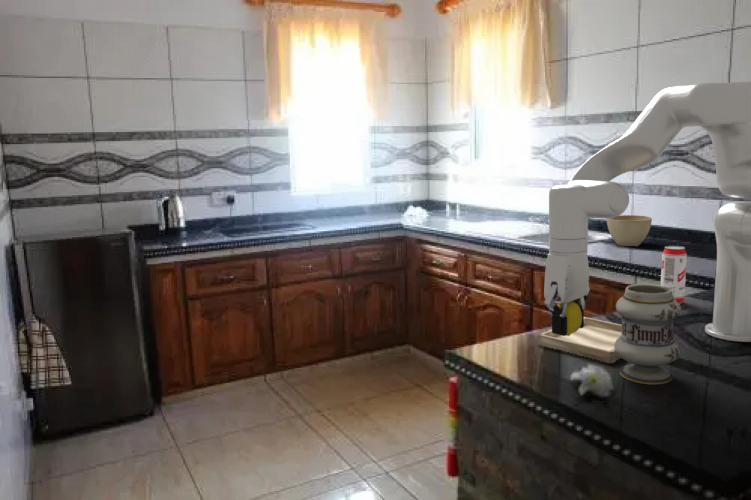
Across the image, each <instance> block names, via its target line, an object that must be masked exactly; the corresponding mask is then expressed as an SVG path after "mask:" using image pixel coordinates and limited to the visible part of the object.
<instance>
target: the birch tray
mask: <svg viewBox="0 0 751 500" xmlns="http://www.w3.org/2000/svg"><path fill="white" fill-rule="evenodd" d="M621 333H622V323H621V324H620V323H616V322H615V323H614V322H611V321H605V320H600V319H596V318H591V317H587V316H584V327H583V328H579V329H578V330H577V331H576V332H574V333H572V334H571V335H570V336H562V335H558V334H554V333H552V328H551V329H549V330H547V331H544V332H542V333H539V334H538V335H537V346H541V347H544V348H549V349H552V348H553V350H556V349H559V350H563V351H568V352H571V353H574V354H573V355H575V354H577V355H576V356H579V355H580V356H579V357H582V356H585V357H584V358H586V357H589V358H588V359H590V358H592V359H591V360H594V359H597V360H596V361H598V360H600V361H599V362H602V361H603V363H605V362H606V363H605V364H609V363H610V364H613V363H616V362H617V361H619V360H621V359H622V358H621V357H620V356H619V355H618V354H617V352H616V351H615V347H614V345H615V342H616V340H617V339H618V338H619V337H620V336H621ZM559 350H558V351H559ZM563 351H562V352H563ZM571 353H570V354H571ZM620 358H621V359H620ZM618 359H619V360H618ZM616 360H617V361H616Z"/></svg>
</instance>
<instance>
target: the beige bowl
mask: <svg viewBox="0 0 751 500" xmlns="http://www.w3.org/2000/svg"><path fill="white" fill-rule="evenodd" d="M652 222H653V218H652V217H651V216H646V215H639V214H638V215H636V214H635V215H634V214H630V215H629V214H627V215H622V214H621V215H619V216H617V217H615V218H610V219H606V224H607V229H608V231H609V234H610V236H611V238H612V239H613V241H614V243H616V244H617V245H618V246H619V245H620V246H619V247H624V246H635V247H639V246H640V245H641V244H642V242H643V241H644V240H645V239H646V238H647V236H648V234H649V232H650V229H651V227H652Z"/></svg>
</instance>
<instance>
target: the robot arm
mask: <svg viewBox="0 0 751 500" xmlns="http://www.w3.org/2000/svg"><path fill="white" fill-rule="evenodd" d="M687 127H688V128H689V127H692V128H693V127H701V128H702V129H703V130H705V132H706V133H707V134H708V136H709V137H710V139H711V142H712V148H713V155H714V164H715V173H716V181H717V182H716V183H717V186H718V189H719V191H720V193H721V194H722V195H724V196H727V197H730V198H734V199H735V198H737V199H745V200H746V199H747V200H751V81H734V82H733V81H731V82H729V81H728V82H699V83H693V84H684V85H683V84H682V85H674V86H670V87H665V88H663V89H661V90H660V91H658V93H657V94H655V96H654V97H653V98H652V99H651V100H650V102H649V103H648V104H647V105H646V107H645V108H644V109H643V111H642V112H641V113H640V114H639V116H637V118H636V119H635V121H634V122H632V124H631V125H630V127H629V128H628V129H627V130H626V131H625V133H624V134H623V135H622V136H621V137H620V138H617V139H616V140H614V141H612V142H611V143H609V144H608V145H606V146H605V147H603V148H602V149H601V150H599V151H598V152H596V153H595V154H594V155H592V156H590V157H589V158H588V159H587V160H585V162H584V163H583V164H582V165H581V166H580V167H578V169H577V170H576V172H575V173H574V175H573V176H572V177H571V178H570V179H569V181H568V182H567V184H556V185H554V186H553V185H552V187H551V188H550V190H549V191H548V254H547V258H546V263H545V264H546V265H545V271H544V272H545V273H544V287H543V288H544V291H543V295H544V297H543V298H544V299H545V300H544V305H545V306H546V307H547V309H548V311H549V314H550V315H551V329H552V333H554V334H558V335H562V336H566V335H567V317H565V313H566V307H567V303H568V302H571V301H573V302H575V303H576V304H577V305H578V306H579V307H580V310H581V314H582V323H581V326H580V328H583V327H584V317H585V315H584V314H585V309H586V301H587V299H588V295H589V293H590V290H591V287H590V285H589V284H590V275H589V274H590V271H589V270H590V269H589V259H588V249H589V248H588V247H589V246H588V243H589V229H588V228H589V219H601V220H602V219H604V220H607V219H610V218H615V217H617V216H619V215H622V214H623V213H624V212H626V211H627V208H628V207H629V204H630V195H629V192H628V190H627V188H625V187H624V186H623V185H622V184H619V183H618V182H615V181H612V180H614V179H615V178H617V177H619V176H621V175H623V174H625V173H629V172H631V171H635V170H637V169H640V168H643V167H646V166H648V165H651V164H653V163H654V162H656V161H657V160H659V158H660V157H661V155H663V153H664V152H665V151H666V149H667V148H668V147H669V146H670V144H671V143H672V142H673V140H674V139H675V138H676V137H677V135H678V134H679V133H680V132H681V131H682V130H683V129H684V128H687ZM713 226H714V227H713V228H714V233H715V241H716V268H715V269H716V270H715V278H714V279H715V283H714V295H713V296H714V298H713V313H712V322H711V323H710V322H709V323H708V324H706V325H705V326H704V332H705V333H706V334H708V335H709V336H711V337H713V338H717V339H720V340H725V341H732V342H738V343H739V342H741V343H751V201H742V200H741V201H740V200H739V201H731V202H728V203H726V204H723V205H722V206H720V207H719V209H718V210H717V212H716V213H715V216H714V221H713ZM558 299H560V300H558ZM558 304H562V305H561V309H560V308H559V307H558V306H557V305H558Z"/></svg>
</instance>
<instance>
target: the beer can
mask: <svg viewBox="0 0 751 500" xmlns="http://www.w3.org/2000/svg"><path fill="white" fill-rule="evenodd" d="M685 249H686V248H685V246H680V245H667V246H664V250H663V251H662V253H661V271H660V274H661V275H660V286H665V287H669V288H671V289H672V295H673V299H675V300H676V301H677V302H678V303H679V304H680V305H681V304H682V303H684V301H685V293H686V292H685V291H686V290H685V289H686V275H687V260H688V259H687V255H688V254H687V252H686V250H685Z"/></svg>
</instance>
